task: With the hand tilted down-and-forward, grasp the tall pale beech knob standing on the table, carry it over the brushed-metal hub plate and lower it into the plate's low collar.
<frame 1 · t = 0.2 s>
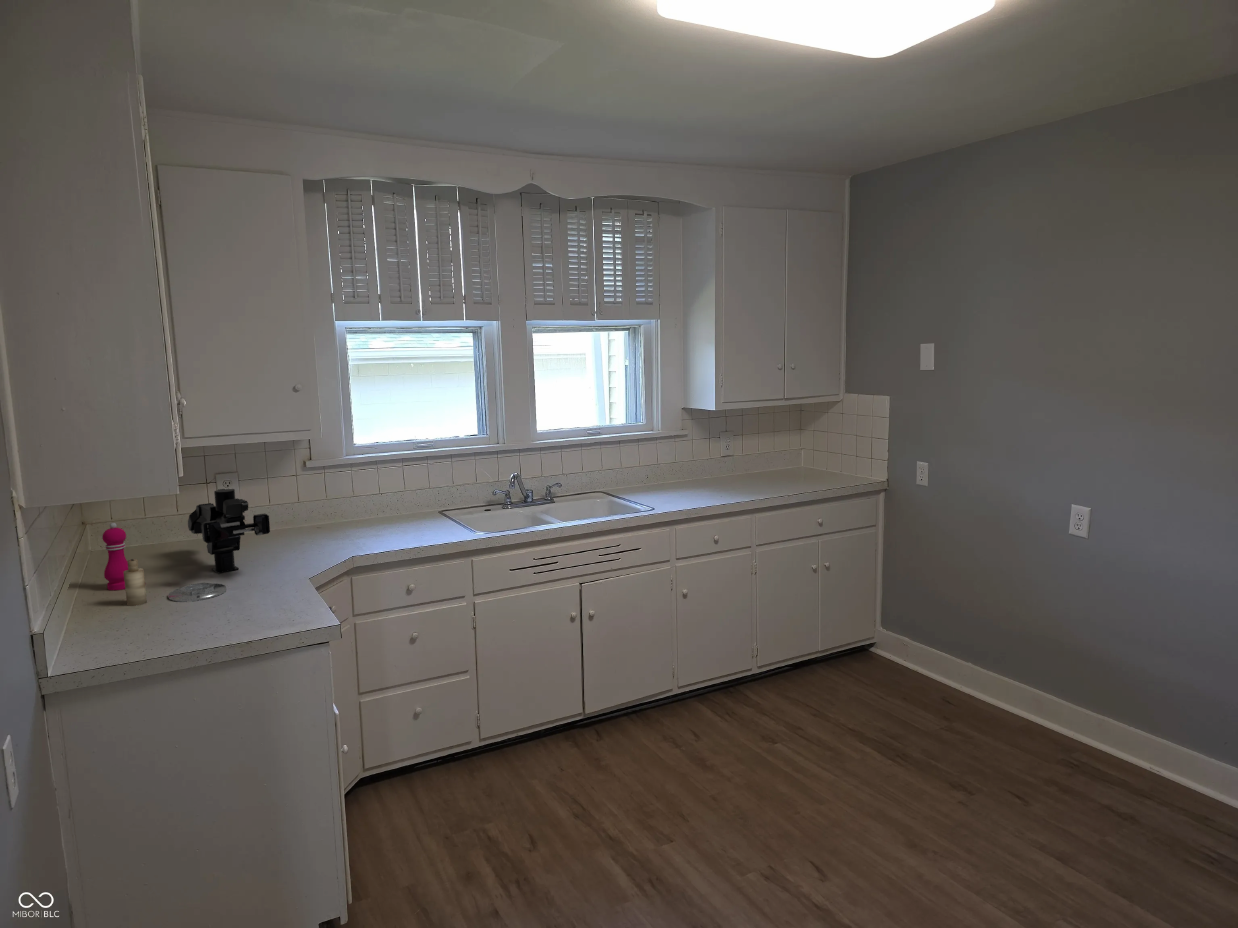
hand: (245, 533, 233), 17 cm above the table, tool horizontal, fingers open, 9 cm apart
hub: (197, 593, 230), on the table
knob: (137, 603, 222), on the table
pepper mill: (120, 588, 237), on the table
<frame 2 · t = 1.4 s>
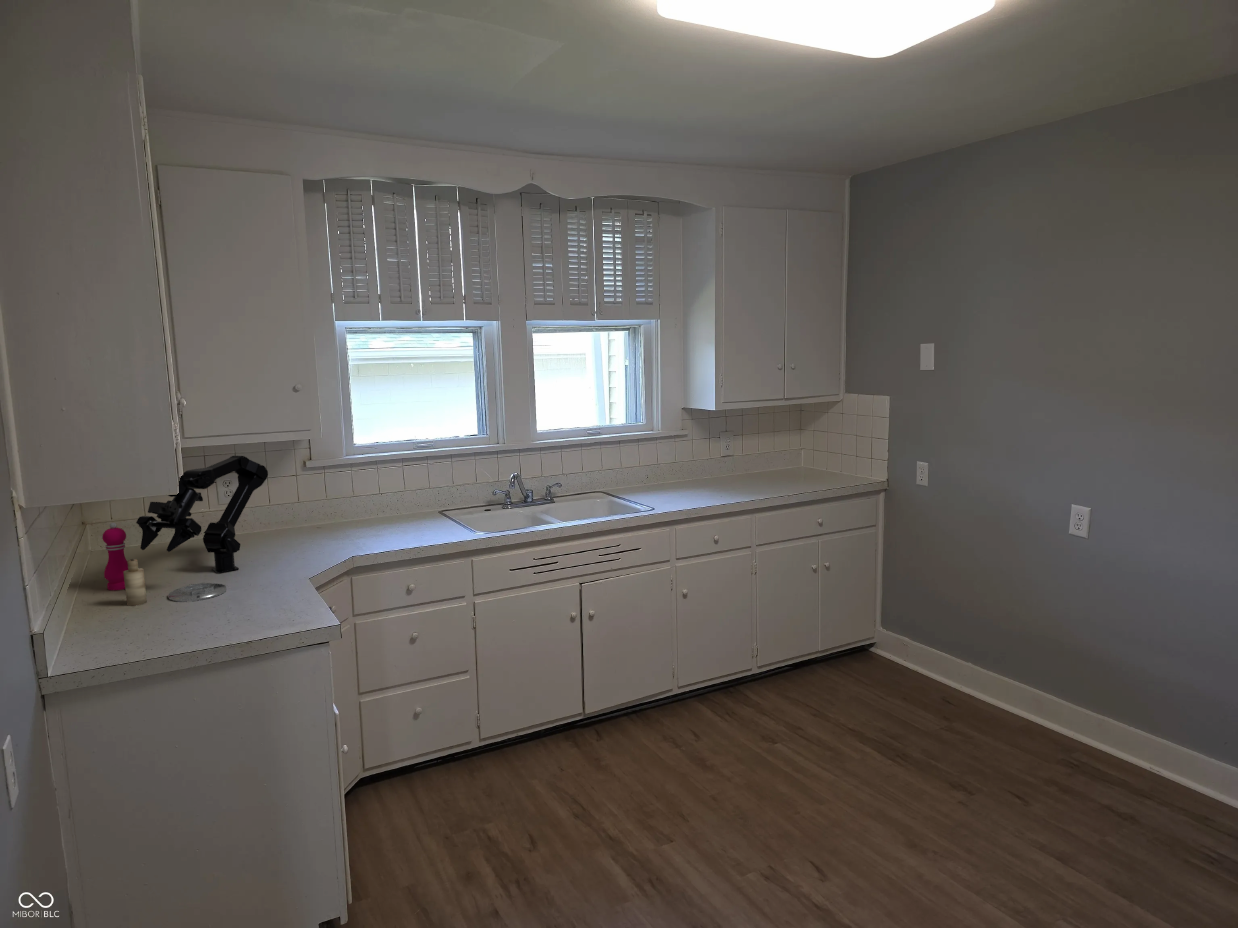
hand: (154, 550, 227), 13 cm above the table, tool tilted 45°, fingers open, 9 cm apart
nothing on the table moved.
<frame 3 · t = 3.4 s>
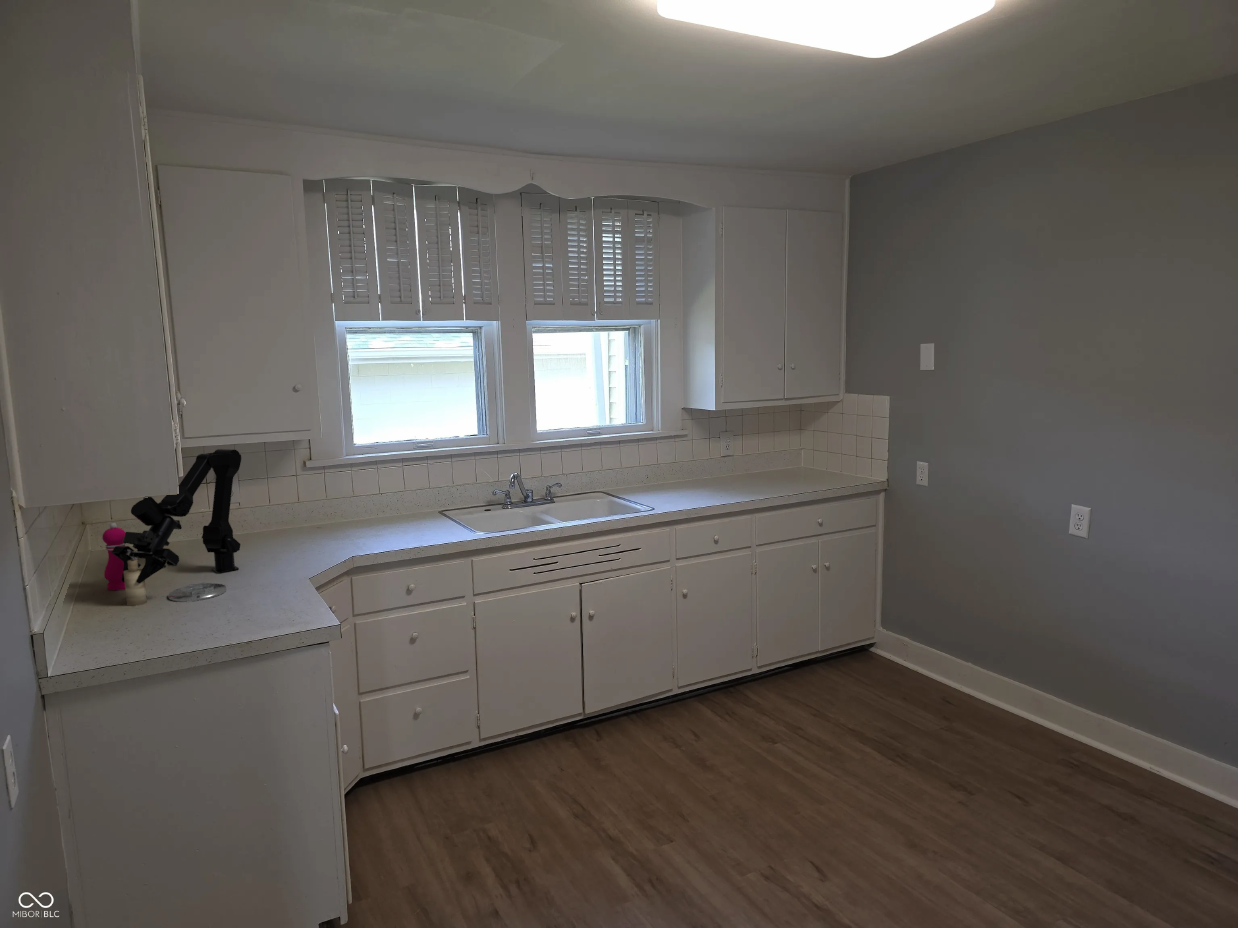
hand: (130, 582, 220), 7 cm above the table, tool tilted 45°, fingers closed on knob, 5 cm apart
knob: (137, 603, 222), on the table, touching gripper
everything else where it was.
when the fingers open (8 cm above the table, at t = 6.6 s): knob stays where it is, resting on hub.
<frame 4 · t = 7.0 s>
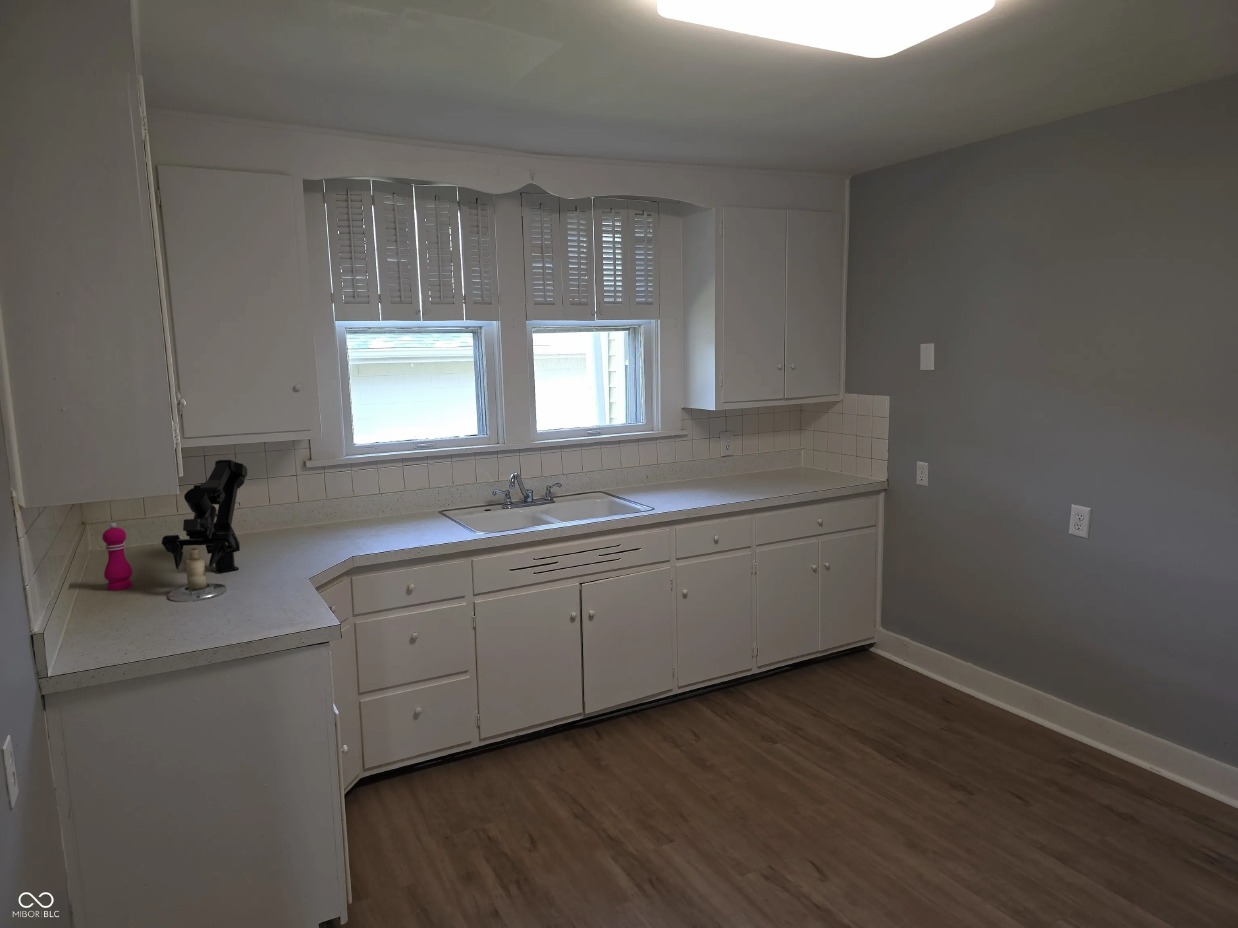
hand: (193, 567, 227), 8 cm above the table, tool tilted 45°, fingers open, 9 cm apart
knob: (197, 590, 230), point 1 cm above the table, touching hub
everything else where it was.
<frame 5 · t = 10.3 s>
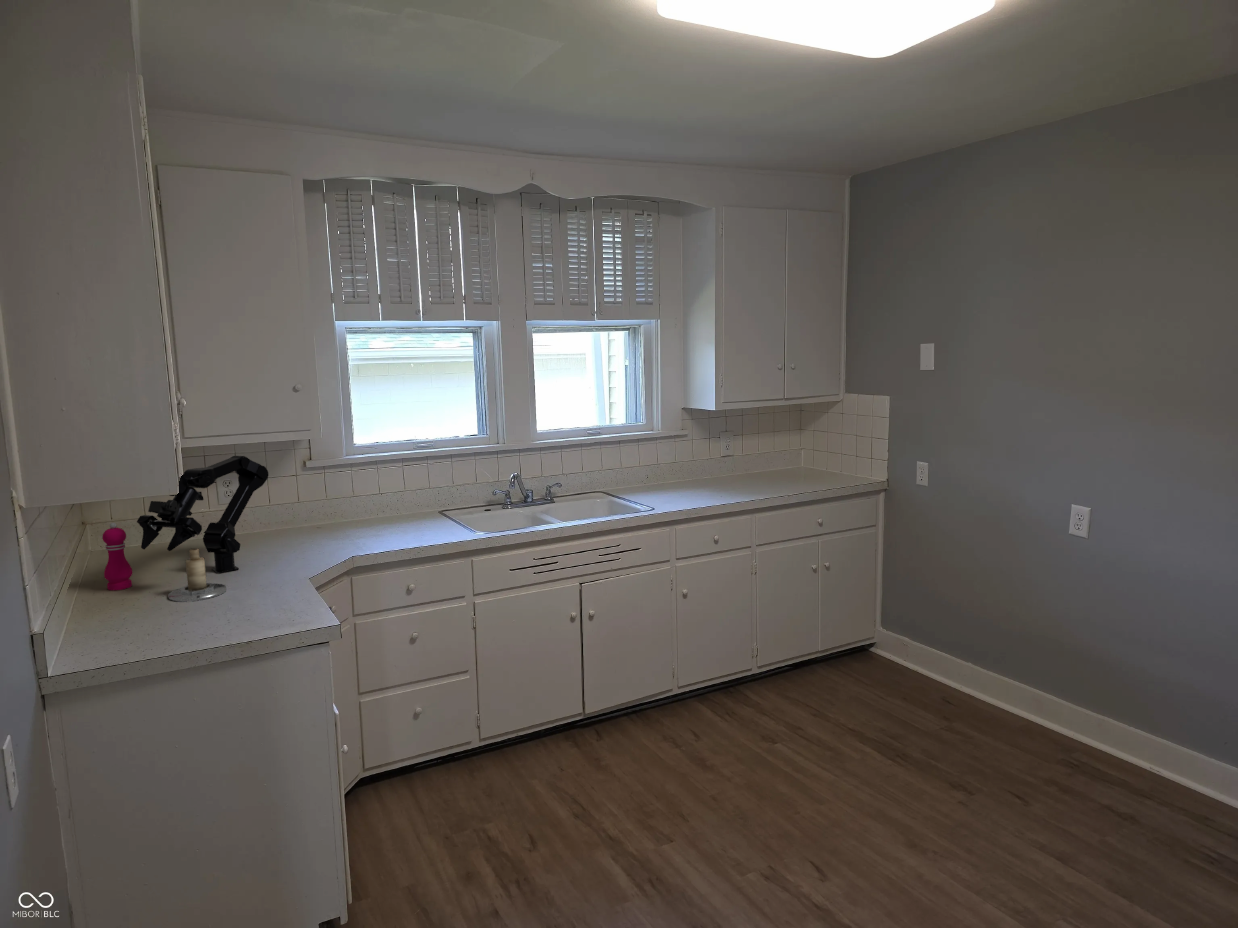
hand: (155, 549, 228), 14 cm above the table, tool tilted 45°, fingers open, 9 cm apart
nothing on the table moved.
at the end: knob 0.0 cm off-centre on the hub, point 0.8 cm above the hub's base; knob tilted 0°; the gripper is holding nothing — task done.
